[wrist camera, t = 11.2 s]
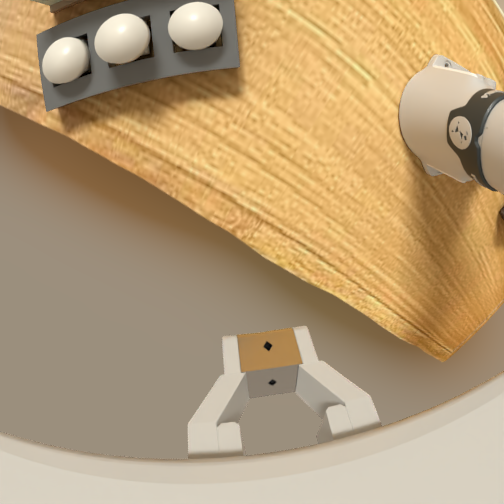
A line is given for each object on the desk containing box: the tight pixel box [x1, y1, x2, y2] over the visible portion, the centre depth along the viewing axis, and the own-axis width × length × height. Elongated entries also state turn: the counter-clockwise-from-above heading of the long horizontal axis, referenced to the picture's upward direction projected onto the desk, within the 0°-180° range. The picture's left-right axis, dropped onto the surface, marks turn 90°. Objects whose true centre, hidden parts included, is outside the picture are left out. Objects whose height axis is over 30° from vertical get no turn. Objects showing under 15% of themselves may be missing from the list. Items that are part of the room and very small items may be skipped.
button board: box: [37, 0, 240, 111], centre depth 24 cm, size 22×10×3 cm, turn 95°
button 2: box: [168, 2, 223, 50], centre depth 23 cm, size 5×5×4 cm
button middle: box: [94, 14, 150, 64], centre depth 22 cm, size 5×5×4 cm
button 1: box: [42, 37, 91, 84], centre depth 22 cm, size 5×5×4 cm
